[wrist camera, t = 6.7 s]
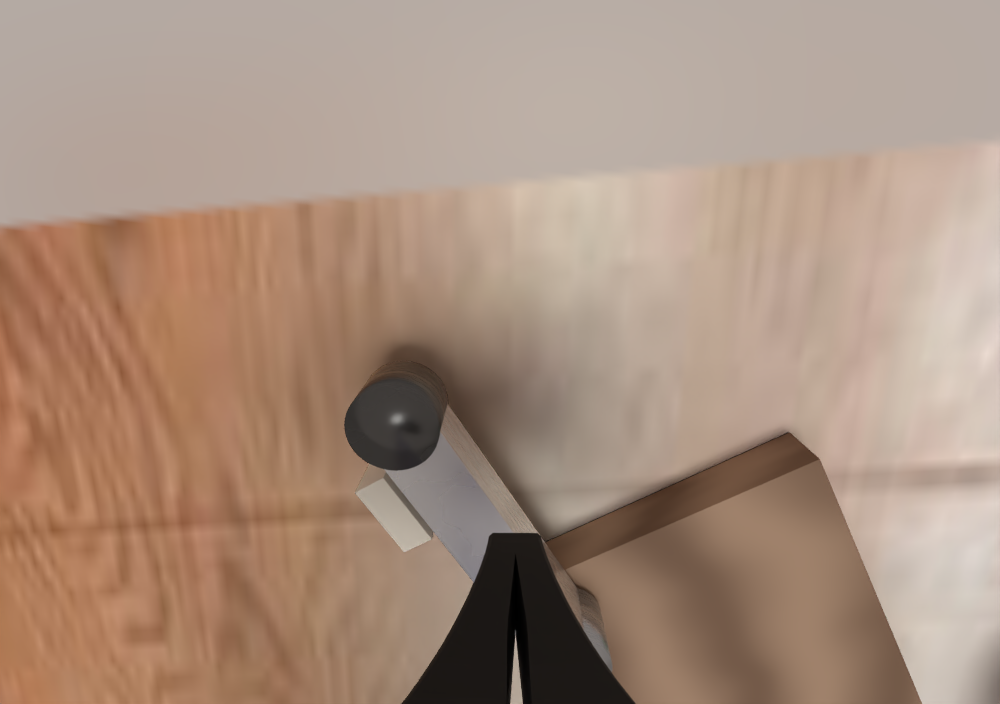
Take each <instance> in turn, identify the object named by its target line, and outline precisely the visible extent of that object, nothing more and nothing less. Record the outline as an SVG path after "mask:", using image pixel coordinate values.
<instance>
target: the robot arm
mask: <svg viewBox="0 0 1000 704" xmlns="http://www.w3.org/2000/svg"><path fill="white" fill-rule="evenodd" d="M515 630H516V640H517V650H518V660H519V669H520V679H521V689H522V699H523V704H636V703H635V702H634V701H633V699H632V698H631V697H630V696H629V694H628V693H627V692H626V691H625V689H624V688H623V687H622V686H621V684H620V683H619V682H618V681H617V679H616V678H615V676H614V675H613V674H612V672H611V671H610V669H609V668H608V667H607V665H606V664H605V662H604V661H603V659H602V658H601V656H600V655H599V653H598V652H597V650H596V649H595V647H594V646H593V644H592V643H591V641H590V640H589V638H588V636H587V635H586V633H585V632H584V630H583V628H582V627H581V625H580V623H579V621H578V620H577V618H576V616H575V614H574V613H573V611H572V609H571V607H570V605H569V603H568V601H567V599H566V597H565V595H564V593H563V591H562V589H561V587H560V585H559V583H558V581H557V579H556V577H555V575H554V572H553V570H552V567H551V565H550V563H549V560H548V557H547V555H546V552H545V549H544V546H543V542H542V538H541V536H540V535H539V534H538V533H492V534H491V535H490V536H489V538H488V543H487V547H486V551H485V554H484V557H483V560H482V563H481V566H480V569H479V571H478V574H477V576H476V579H475V581H474V583H473V586H472V588H471V590H470V593H469V595H468V597H467V599H466V601H465V603H464V605H463V607H462V609H461V611H460V613H459V615H458V617H457V619H456V621H455V623H454V625H453V626H452V628H451V630H450V632H449V634H448V635H447V637H446V639H445V641H444V642H443V644H442V646H441V647H440V649H439V650H438V652H437V654H436V655H435V657H434V658H433V660H432V662H431V663H430V664H429V666H428V667H427V669H426V670H425V672H424V673H423V675H422V676H421V678H420V679H419V681H418V682H417V684H416V685H415V686H414V688H413V689H412V691H411V692H410V693H409V695H408V696H407V697H406V699H405V700H404V701H403V702H402V704H510V699H511V685H512V671H513V658H514V644H515Z"/></svg>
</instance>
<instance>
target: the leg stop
mask: <svg viewBox="0 0 1000 704" xmlns="http://www.w3.org/2000/svg"><path fill="white" fill-rule="evenodd" d="M355 494H356V495H357V496H358V497H359V498H360V500H361V501H362V502H363V503H364V504H365V506H366V507H367V508H368V509H369V510H370V512H371V513H372V514H373V515H374V516H375V518H376V519H377V520H378V521H379V523H380V524H381V525H382V526H383V527H384V529H385V530H386V531H387V532H388V533H389V535H390V536H391V537H392V538H393V539H394V541H395V542H396V543H397V544H398V545H399V547H400V548H401V549H402V550H403V551H404V552H406V551H408V550H410V549H413V548H415V547H417V546H419V545H421V544H423V543H425V542H427V541H429V540H431V539H432V536H433V530H432V529H431V528H430V527H429V525H428V524H427V523H426V522H425V520H424V519H423V518H422V517H421V515H420V514H419V513H418V512H417V510H416V509H415V508H414V507H413V505H412V504H411V503H410V502H409V500H408V499H407V498H406V497H405V495H404V494H403V493H402V491H401V490H400V489H399V488H398V486H397V485H396V484H395V483H394V481H393V480H392V479H391V478H390V476H389V475H388V474H387V473H386V471H385V470H384V469H381V468H378V467H376V466H373V465H371V464H369V465H368V467H367V469H366V471H365V473H364V475H363V477H362V479H361V481H360V483H359V485H358V487H357V489H356V491H355Z"/></svg>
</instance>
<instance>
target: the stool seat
mask: <svg viewBox="0 0 1000 704" xmlns="http://www.w3.org/2000/svg"><path fill="white" fill-rule="evenodd" d="M545 543H546V544H547V546H548V547H549V549H550V550H551V551H552V553H553V554H554V556H555V557H556V559H557V560H558V561H559V563H560V564H561V566H562V567H563V569H564V570H565V571H566V573H567V574H568V576H569V577H570V578H571V580H572V581H573V583H574V584H575V586H576V587H577V588H579V589H582V590H584V591H586V592H588V593H589V594H591V595H592V596H593V597H594V598H595V599H596V600H597V602H598V603H599V606H600V609H601V614H602V619H603V623H604V628H605V632H606V637H607V642H608V646H609V651H610V656H611V660H612V674H613V675H614V676H615V678H616V679H617V681H618V682H619V683H620V684H621V686H622V687H623V688H624V689H625V691H626V692H627V693H628V694H629V696H630V697H631V698H632V699H633V701H634V702H635V703H636V704H922V703H921V700H920V698H919V695H918V693H917V691H916V688H915V686H914V683H913V681H912V679H911V676H910V674H909V671H908V669H907V667H906V664H905V662H904V659H903V657H902V655H901V652H900V650H899V648H898V645H897V643H896V640H895V638H894V636H893V633H892V631H891V628H890V626H889V624H888V621H887V619H886V616H885V614H884V612H883V609H882V607H881V604H880V602H879V600H878V597H877V595H876V592H875V590H874V588H873V585H872V583H871V581H870V578H869V576H868V573H867V571H866V569H865V566H864V564H863V561H862V559H861V557H860V554H859V552H858V549H857V547H856V545H855V542H854V540H853V537H852V535H851V533H850V530H849V528H848V525H847V523H846V521H845V518H844V516H843V514H842V511H841V509H840V506H839V504H838V502H837V499H836V497H835V494H834V492H833V490H832V487H831V485H830V482H829V480H828V478H827V475H826V473H825V470H824V468H823V466H822V463H821V461H820V459H819V458H818V457H817V456H816V455H814V454H813V453H812V452H811V451H810V450H809V449H808V448H807V447H805V446H804V445H803V444H802V443H801V442H800V441H799V440H798V439H796V438H795V437H794V436H793V435H792V434H791V433H790V432H789V433H787V434H785V435H783V436H780V437H778V438H776V439H774V440H772V441H769V442H767V443H765V444H763V445H760V446H758V447H756V448H754V449H752V450H749V451H747V452H745V453H743V454H740V455H738V456H736V457H734V458H732V459H729V460H727V461H725V462H723V463H720V464H718V465H716V466H714V467H712V468H709V469H707V470H705V471H703V472H701V473H698V474H696V475H694V476H692V477H689V478H687V479H685V480H683V481H681V482H678V483H676V484H674V485H672V486H669V487H667V488H665V489H663V490H661V491H658V492H656V493H654V494H652V495H649V496H647V497H645V498H643V499H641V500H638V501H636V502H634V503H632V504H629V505H627V506H625V507H623V508H621V509H618V510H616V511H614V512H612V513H609V514H607V515H605V516H603V517H601V518H598V519H596V520H594V521H592V522H590V523H587V524H585V525H583V526H581V527H578V528H576V529H574V530H572V531H570V532H567V533H565V534H563V535H561V536H558V537H556V538H554V539H552V540H550V541H547V542H545Z"/></svg>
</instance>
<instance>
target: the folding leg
mask: <svg viewBox="0 0 1000 704" xmlns="http://www.w3.org/2000/svg"><path fill="white" fill-rule="evenodd" d="M344 426H345V433H346V437H347V440H348V442H349V444H350V446H351V447H352V449H353V450H354V451H355V452H356V454H357V455H358V456H359V457H361V458H362V459H363V460H364V461H366V462H367V463H369V464H371V465H373V466H376V467H378V468H381V469H384V470H385V471H386V473H387V474H388V475H389V476H390V478H391V479H392V480H393V481H394V483H395V484H396V485H397V486H398V488H399V489H400V490H401V491H402V493H403V494H404V495H405V497H406V498H407V499H408V500H409V502H410V503H411V504H412V505H413V507H414V508H415V509H416V510H417V512H418V513H419V514H420V515H421V517H422V518H423V519H424V520H425V522H426V523H427V524H428V525H429V527H430V528H431V529H432V530H433V532H434V533H435V534H436V536H437V537H438V538H439V539H440V541H441V542H442V543H443V544H444V546H445V547H446V548H447V549H448V551H449V552H450V553H451V554H452V556H453V557H454V558H455V559H456V561H457V562H458V563H459V564H460V566H461V567H462V568H463V569H464V571H465V572H466V573H467V574H468V576H469V577H470V578H471V580H472V581H473V582H474V581H475V579H476V576H477V574H478V571H479V569H480V566H481V563H482V560H483V557H484V554H485V551H486V547H487V543H488V538H489V536H490V535H491V534H492V533H538V532H537V530H536V529H535V527H534V526H533V524H532V523H531V522H530V520H529V519H528V517H527V516H526V514H525V513H524V512H523V510H522V509H521V507H520V506H519V504H518V503H517V502H516V500H515V499H514V497H513V496H512V495H511V493H510V492H509V490H508V489H507V487H506V486H505V485H504V483H503V482H502V480H501V479H500V477H499V476H498V475H497V473H496V472H495V470H494V469H493V467H492V466H491V465H490V463H489V462H488V460H487V459H486V458H485V456H484V455H483V453H482V452H481V450H480V449H479V448H478V446H477V445H476V443H475V442H474V440H473V439H472V438H471V436H470V435H469V433H468V432H467V430H466V429H465V428H464V426H463V425H462V423H461V422H460V421H459V419H458V418H457V416H456V415H455V413H454V412H453V411H452V409H451V408H450V406H449V405H448V397H447V392H446V389H445V387H444V384H443V383H442V381H441V380H440V378H439V377H438V376H437V375H436V374H435V373H434V372H433V371H431V370H430V369H429V368H427V367H425V366H423V365H421V364H418V363H415V362H410V361H396V362H391V363H388V364H386V365H384V366H382V367H380V368H379V369H378V370H376V371H375V372H374V373H373V375H372V376H371V377H370V379H369V380H368V381H367V383H366V384H365V385H364V387H363V388H362V390H361V391H360V392H359V394H358V395H357V397H356V398H355V399H354V401H353V402H352V404H351V405H350V407H349V409H348V411H347V413H346V417H345V424H344ZM538 534H539V533H538ZM539 535H540V534H539ZM541 538H542V537H541ZM542 542H543V546H544V549H545V552H546V555H547V557H548V560H549V563H550V565H551V567H552V570H553V572H554V575H555V577H556V579H557V581H558V583H559V585H560V587H561V589H562V591H563V593H564V595H565V597H566V599H567V601H568V603H569V605H570V607H571V609H572V611H573V613H574V614H575V616H576V618H577V620H578V621H579V623H580V625H581V627H582V628H583V630H584V632H585V633H586V635H587V636H588V638H589V640H590V641H591V643H592V644H593V646H594V647H595V649H596V650H597V652H598V653H599V655H600V656H601V658H602V659H603V661H604V662H605V664H606V665H607V667H608V668H609V669H610V671H611V672H612V660H611V656H610V651H609V646H608V642H607V637H606V632H605V628H604V623H603V619H602V614H601V609H600V606H599V603H598V602H597V600H596V599H595V598H594V597H593V596H592V595H591V594H589V593H588V592H586V591H584V590H582V589H579V588H577V587H576V586H575V584H574V583H573V581H572V580H571V578H570V577H569V576H568V574H567V573H566V571H565V570H564V569H563V567H562V566H561V564H560V563H559V561H558V560H557V559H556V557H555V556H554V554H553V553H552V551H551V550H550V549H549V547H548V546H547V544H546V543H545V541H544V540H543V539H542ZM515 635H516V630H515Z"/></svg>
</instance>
